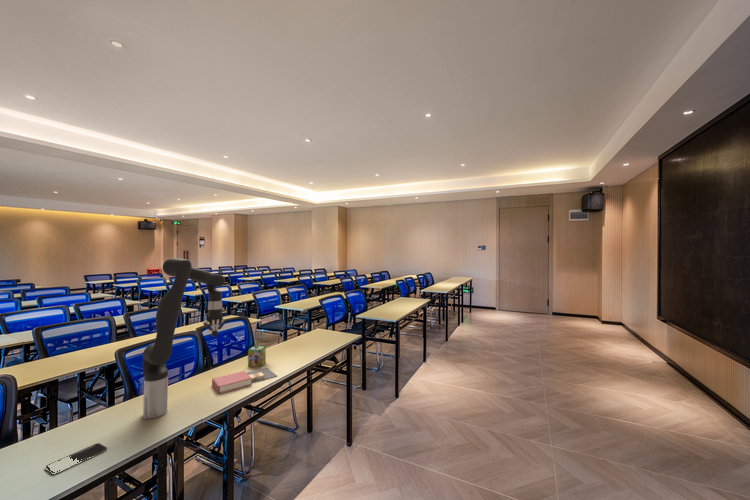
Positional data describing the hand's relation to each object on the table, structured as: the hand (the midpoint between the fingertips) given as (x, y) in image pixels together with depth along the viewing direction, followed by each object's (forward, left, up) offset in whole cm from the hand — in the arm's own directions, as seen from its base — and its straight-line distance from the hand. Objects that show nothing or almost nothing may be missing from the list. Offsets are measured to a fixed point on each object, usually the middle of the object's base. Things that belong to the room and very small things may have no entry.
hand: (214, 336), depth 178 cm
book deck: (+7, -12, -27) cm, 30 cm away
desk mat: (+25, -8, -27) cm, 37 cm away
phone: (-55, -42, -28) cm, 75 cm away
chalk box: (+30, +12, -27) cm, 42 cm away
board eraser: (+20, -12, -27) cm, 36 cm away
